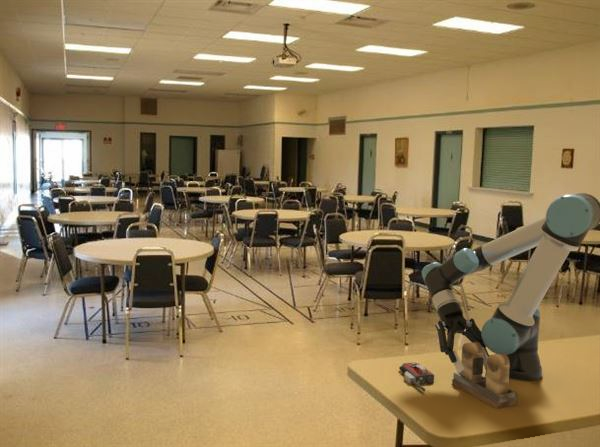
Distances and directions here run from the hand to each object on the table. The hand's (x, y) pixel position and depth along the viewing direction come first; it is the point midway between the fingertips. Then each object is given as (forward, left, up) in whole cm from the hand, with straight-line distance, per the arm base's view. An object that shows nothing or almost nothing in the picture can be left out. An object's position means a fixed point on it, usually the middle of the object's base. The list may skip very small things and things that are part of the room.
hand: (475, 369), depth 186 cm
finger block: (-1, -3, -5) cm, 6 cm away
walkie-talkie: (+11, -13, -7) cm, 19 cm away
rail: (-1, +3, -6) cm, 7 cm away
